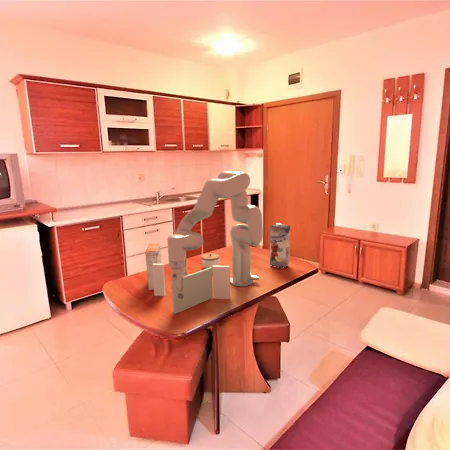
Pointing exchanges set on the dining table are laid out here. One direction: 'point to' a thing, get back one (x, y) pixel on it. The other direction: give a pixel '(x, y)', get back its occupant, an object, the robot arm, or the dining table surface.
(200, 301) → the door
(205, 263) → the lidded jar
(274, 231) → the juice carton
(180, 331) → the dining table surface
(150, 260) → the cracker box
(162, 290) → the door frame
